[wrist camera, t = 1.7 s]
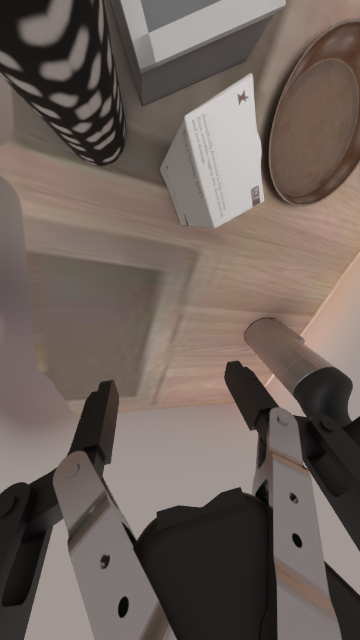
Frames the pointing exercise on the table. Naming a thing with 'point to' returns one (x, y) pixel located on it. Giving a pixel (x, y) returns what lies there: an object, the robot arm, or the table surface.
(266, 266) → the table surface
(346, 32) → the plant saucer
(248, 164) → the skincare box
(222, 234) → the table surface
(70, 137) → the white-spotted black cylinder
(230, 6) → the bin
